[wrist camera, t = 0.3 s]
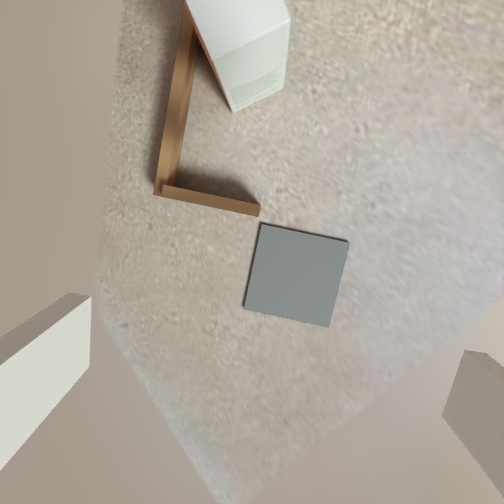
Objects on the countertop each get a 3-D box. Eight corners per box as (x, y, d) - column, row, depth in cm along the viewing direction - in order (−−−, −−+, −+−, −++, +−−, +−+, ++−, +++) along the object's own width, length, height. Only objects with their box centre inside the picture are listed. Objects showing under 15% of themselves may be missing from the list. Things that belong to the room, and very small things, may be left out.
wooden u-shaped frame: (212, -103, 33) (188, -237, 23) (321, -82, 33) (344, -210, 23) (162, 195, 37) (123, 190, 27) (258, 216, 37) (254, 217, 27)
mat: (261, 224, 37) (261, 224, 36) (349, 242, 36) (349, 242, 36) (243, 307, 38) (243, 309, 38) (328, 326, 38) (328, 327, 37)
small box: (200, 44, 35) (159, -55, 22) (254, 16, 34) (245, -103, 21) (231, 115, 36) (210, 61, 23) (285, 89, 35) (294, 17, 22)
